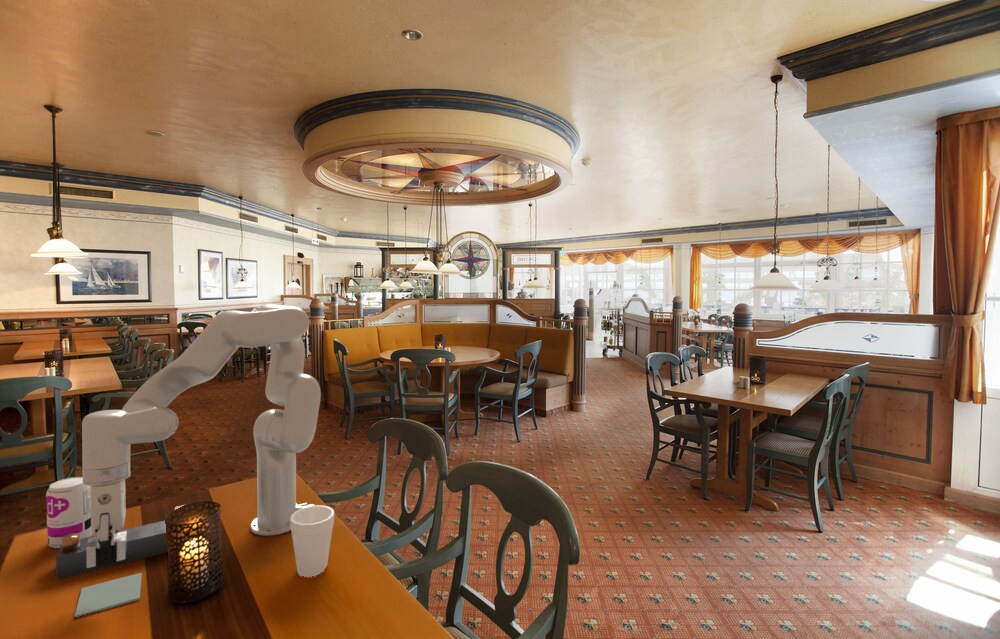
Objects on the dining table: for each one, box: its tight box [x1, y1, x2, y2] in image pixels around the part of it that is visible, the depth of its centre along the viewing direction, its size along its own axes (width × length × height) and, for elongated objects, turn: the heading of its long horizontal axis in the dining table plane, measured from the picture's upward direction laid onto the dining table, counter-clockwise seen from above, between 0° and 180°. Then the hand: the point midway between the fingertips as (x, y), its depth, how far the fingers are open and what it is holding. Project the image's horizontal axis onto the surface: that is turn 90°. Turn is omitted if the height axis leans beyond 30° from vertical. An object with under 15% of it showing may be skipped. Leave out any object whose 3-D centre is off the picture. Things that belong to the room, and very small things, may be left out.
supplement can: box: [45, 476, 93, 550], centre depth 116 cm, size 8×8×15 cm
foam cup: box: [290, 504, 335, 578], centre depth 107 cm, size 10×9×13 cm
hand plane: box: [55, 504, 185, 580], centre depth 111 cm, size 24×7×9 cm, turn 126°
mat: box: [73, 572, 143, 617], centre depth 97 cm, size 10×10×1 cm
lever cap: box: [86, 531, 127, 568], centre depth 96 cm, size 6×4×5 cm
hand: (107, 557), depth 96 cm, fingers closed on lever cap, 4 cm apart
